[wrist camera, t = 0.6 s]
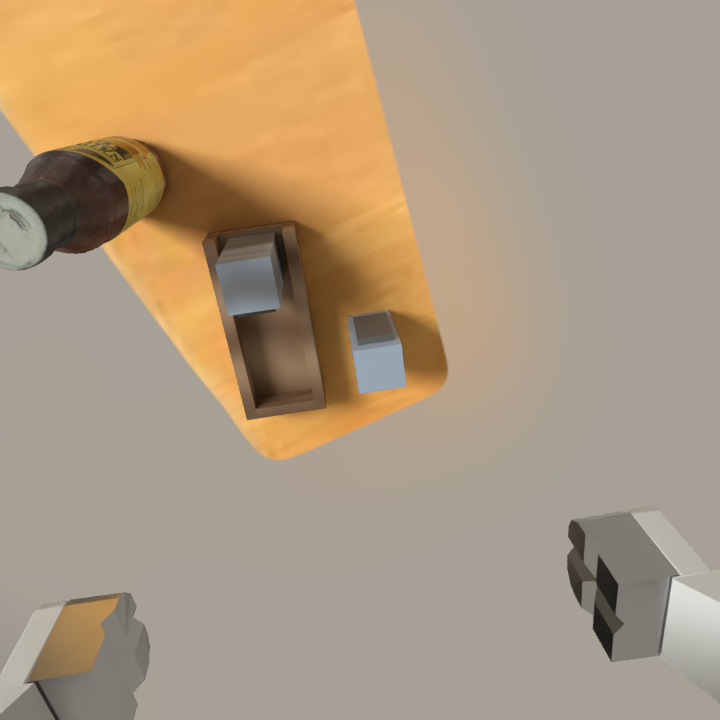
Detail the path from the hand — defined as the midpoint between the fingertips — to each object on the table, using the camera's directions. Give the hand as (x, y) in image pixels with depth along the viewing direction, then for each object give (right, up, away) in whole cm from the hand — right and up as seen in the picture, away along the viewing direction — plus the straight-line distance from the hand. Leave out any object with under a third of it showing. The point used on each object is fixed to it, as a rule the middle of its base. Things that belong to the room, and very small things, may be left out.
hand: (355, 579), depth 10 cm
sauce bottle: (-19, +19, +35) cm, 45 cm away
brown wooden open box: (-8, +8, +42) cm, 43 cm away
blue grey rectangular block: (+1, +7, +43) cm, 44 cm away
